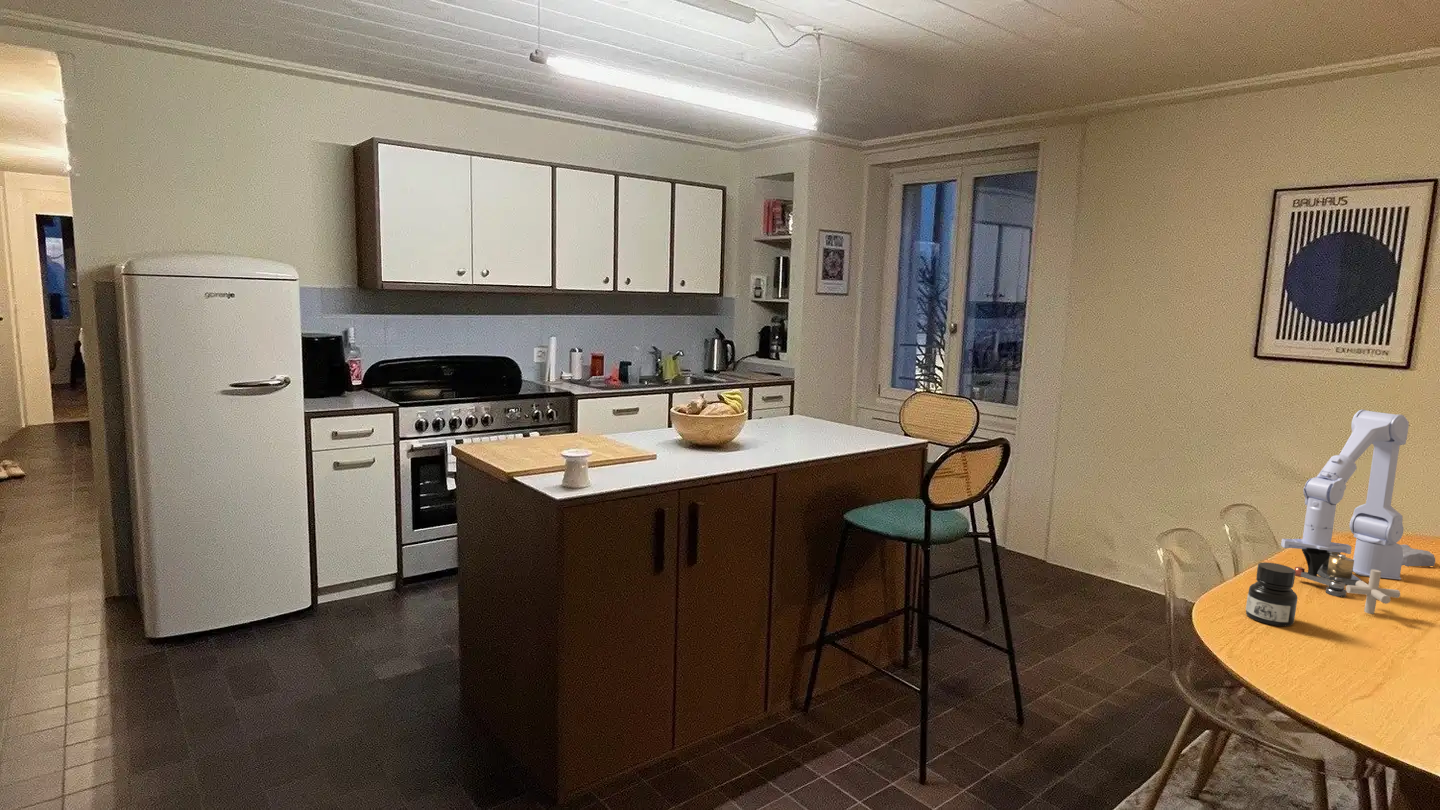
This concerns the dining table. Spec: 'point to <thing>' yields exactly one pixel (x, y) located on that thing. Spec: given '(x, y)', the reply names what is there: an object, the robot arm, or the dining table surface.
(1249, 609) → the ink bottle
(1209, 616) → the dining table surface
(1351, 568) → the housing
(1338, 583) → the lever
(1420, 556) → the stone block
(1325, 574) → the press
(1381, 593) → the pipe connector
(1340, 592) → the lever base
